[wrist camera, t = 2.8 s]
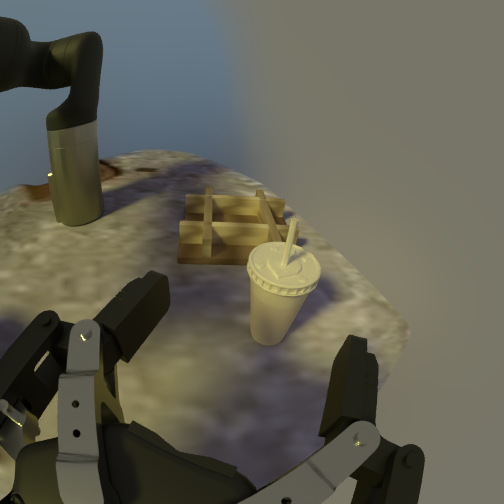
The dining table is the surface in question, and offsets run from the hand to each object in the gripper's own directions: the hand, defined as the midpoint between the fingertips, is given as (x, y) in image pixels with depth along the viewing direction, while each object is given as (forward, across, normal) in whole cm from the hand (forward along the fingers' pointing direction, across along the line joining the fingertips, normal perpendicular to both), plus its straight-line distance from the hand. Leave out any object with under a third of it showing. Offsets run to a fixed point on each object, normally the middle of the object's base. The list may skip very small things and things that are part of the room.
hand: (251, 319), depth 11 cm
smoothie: (+12, 0, +15) cm, 19 cm away
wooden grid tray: (+29, +10, +14) cm, 34 cm away
